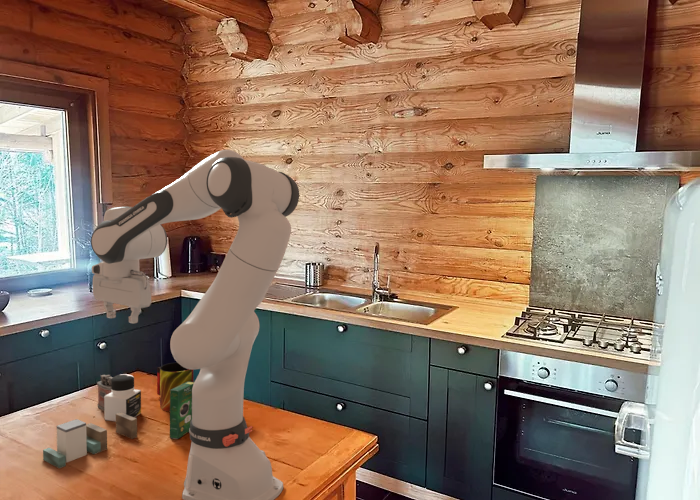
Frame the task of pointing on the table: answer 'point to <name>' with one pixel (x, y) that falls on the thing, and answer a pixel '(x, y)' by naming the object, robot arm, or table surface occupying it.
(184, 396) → the coffee box
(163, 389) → the mug
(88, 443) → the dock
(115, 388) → the medicine bottle
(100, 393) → the lighter
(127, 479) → the table surface
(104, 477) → the table surface
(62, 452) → the grey rectangular block
